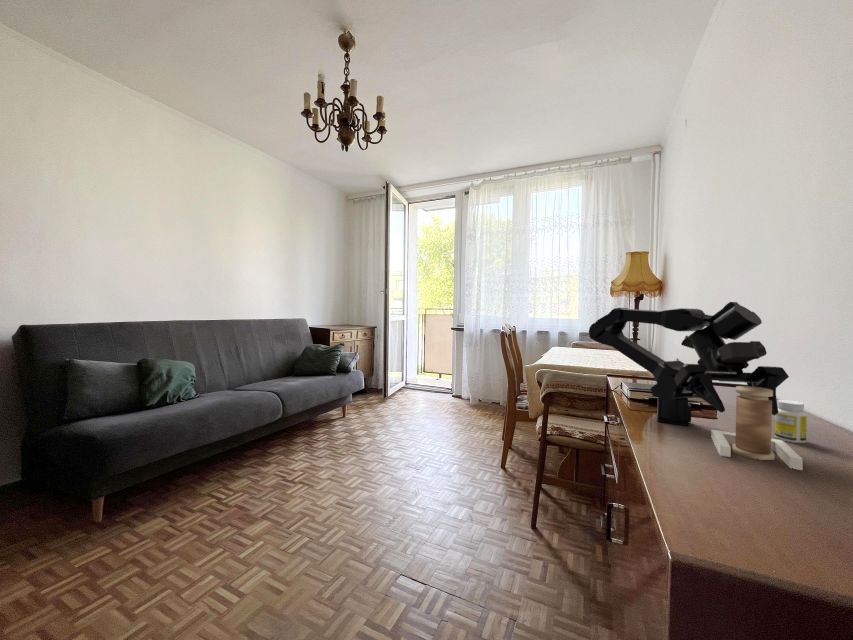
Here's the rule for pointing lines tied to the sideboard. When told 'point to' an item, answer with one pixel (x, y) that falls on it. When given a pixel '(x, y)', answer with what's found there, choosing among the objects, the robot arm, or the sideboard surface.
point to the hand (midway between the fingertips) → (749, 412)
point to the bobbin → (753, 423)
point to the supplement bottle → (790, 421)
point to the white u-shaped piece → (778, 446)
